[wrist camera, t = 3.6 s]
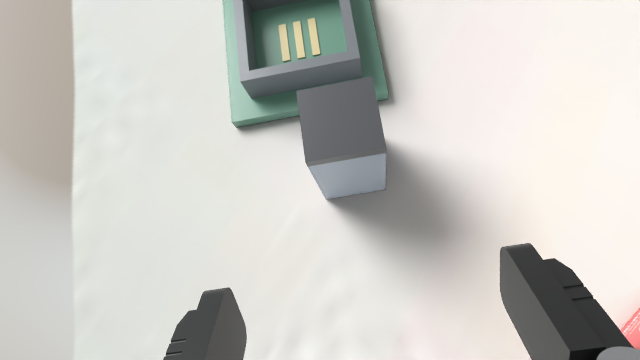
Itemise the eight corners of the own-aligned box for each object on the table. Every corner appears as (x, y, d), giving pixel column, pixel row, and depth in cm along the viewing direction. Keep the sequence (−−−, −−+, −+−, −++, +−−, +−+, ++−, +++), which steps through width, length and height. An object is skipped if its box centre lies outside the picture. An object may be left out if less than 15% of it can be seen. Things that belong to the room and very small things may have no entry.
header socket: (362, -28, 29) (360, -63, 27) (388, 98, 26) (388, 74, 24) (226, 2, 30) (209, -29, 28) (235, 127, 27) (218, 106, 25)
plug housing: (375, 134, 26) (372, 76, 19) (385, 189, 25) (386, 148, 18) (318, 144, 26) (296, 91, 20) (325, 199, 25) (305, 162, 19)
